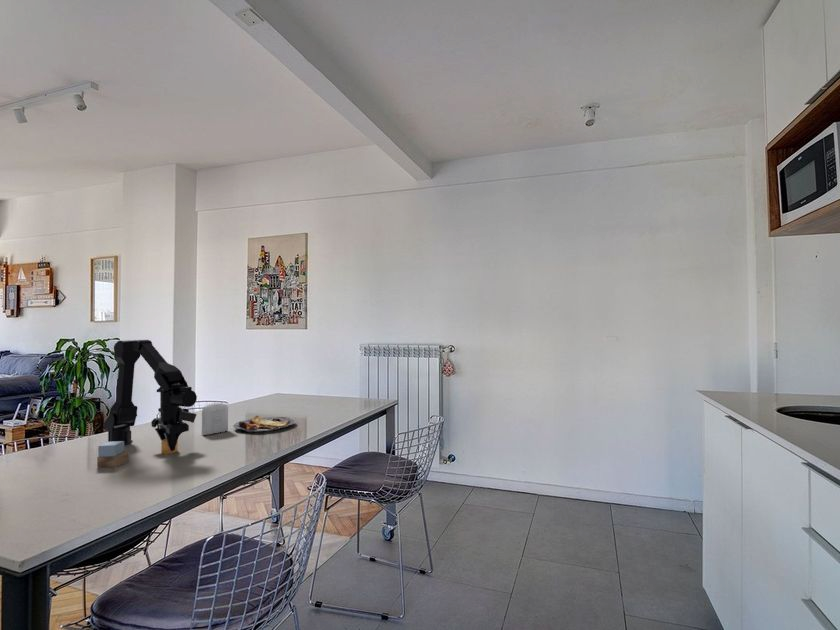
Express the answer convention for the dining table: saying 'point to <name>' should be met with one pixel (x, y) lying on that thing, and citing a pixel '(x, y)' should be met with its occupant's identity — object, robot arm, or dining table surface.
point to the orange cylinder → (166, 447)
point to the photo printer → (214, 418)
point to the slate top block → (111, 449)
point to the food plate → (264, 424)
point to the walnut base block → (112, 460)
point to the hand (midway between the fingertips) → (169, 449)
